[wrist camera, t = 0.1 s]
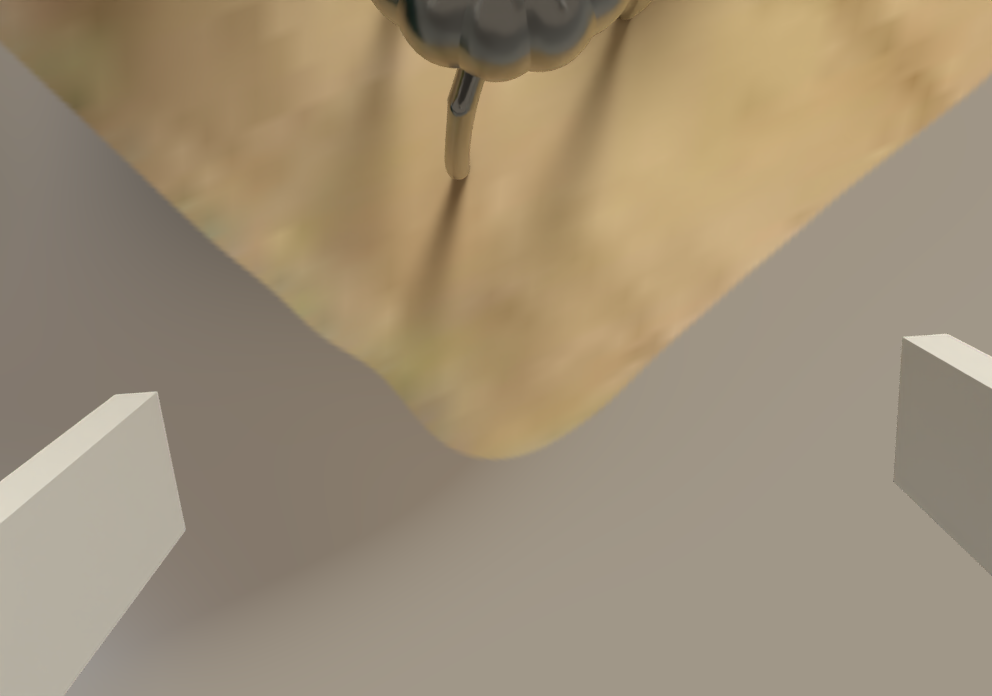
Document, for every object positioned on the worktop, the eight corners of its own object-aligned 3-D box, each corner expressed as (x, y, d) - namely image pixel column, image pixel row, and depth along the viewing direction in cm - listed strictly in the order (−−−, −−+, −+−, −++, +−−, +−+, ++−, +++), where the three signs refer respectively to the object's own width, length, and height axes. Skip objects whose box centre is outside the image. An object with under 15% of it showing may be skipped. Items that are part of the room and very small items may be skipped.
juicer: (405, -72, 38) (105, -632, 9) (635, 7, 39) (1030, -273, 10) (351, 138, 40) (-15, 224, 12) (568, 208, 41) (724, 445, 13)
